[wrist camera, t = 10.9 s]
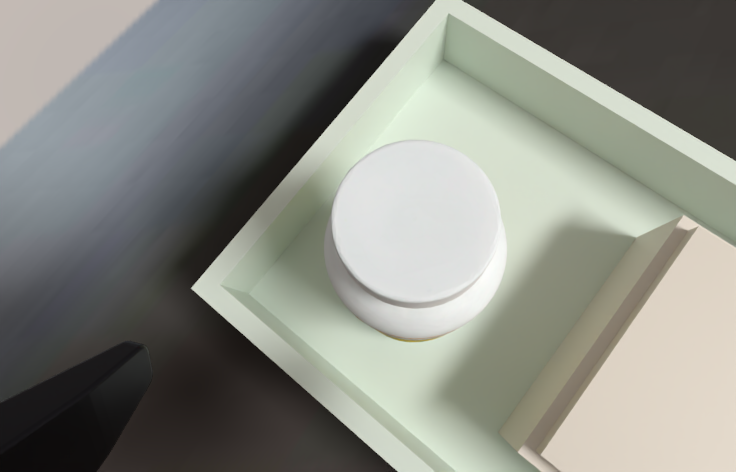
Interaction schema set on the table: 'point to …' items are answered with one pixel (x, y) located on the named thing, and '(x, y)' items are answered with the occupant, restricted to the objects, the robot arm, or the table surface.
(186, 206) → the table surface
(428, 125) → the tote
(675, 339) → the beige lidded box
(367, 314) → the supplement bottle
